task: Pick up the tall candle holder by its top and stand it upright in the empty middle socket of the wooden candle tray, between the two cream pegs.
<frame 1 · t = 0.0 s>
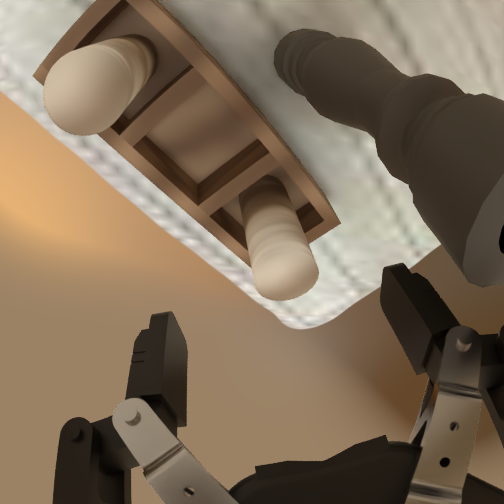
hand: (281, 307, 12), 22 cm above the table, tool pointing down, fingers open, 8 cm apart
candle holder: (306, 59, 26), on the table
wooden candle tray: (201, 127, 29), on the table
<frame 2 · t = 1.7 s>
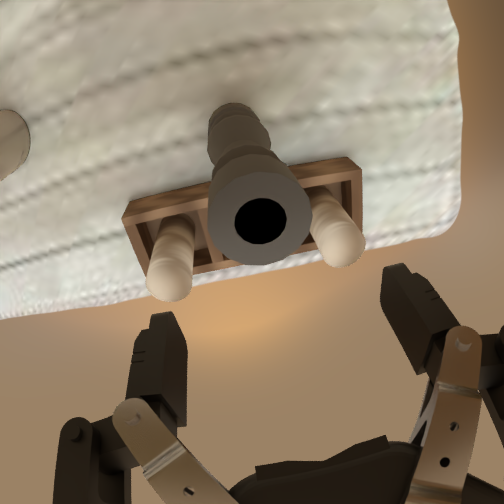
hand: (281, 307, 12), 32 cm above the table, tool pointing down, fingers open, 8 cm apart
candle holder: (233, 126, 38), on the table
wooden candle tray: (245, 210, 45), on the table
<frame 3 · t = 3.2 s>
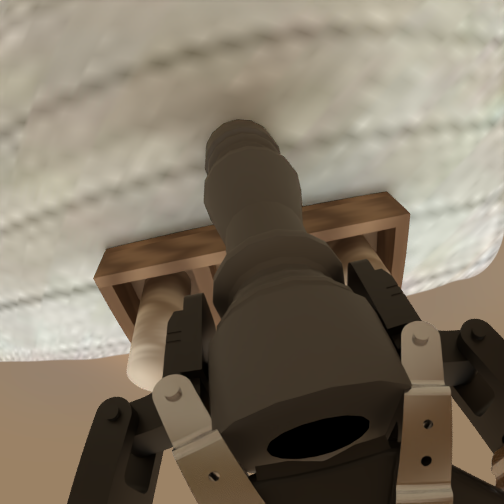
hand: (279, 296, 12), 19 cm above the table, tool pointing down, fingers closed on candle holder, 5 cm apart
candle holder: (240, 152, 28), on the table, touching gripper
wooden candle tray: (254, 260, 35), on the table
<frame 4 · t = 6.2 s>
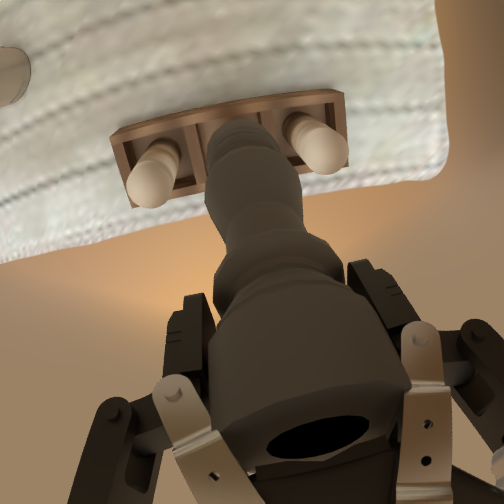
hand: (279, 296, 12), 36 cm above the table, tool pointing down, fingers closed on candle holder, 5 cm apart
candle holder: (241, 151, 28), point 16 cm above the table, touching gripper
wooden candle tray: (230, 138, 43), on the table
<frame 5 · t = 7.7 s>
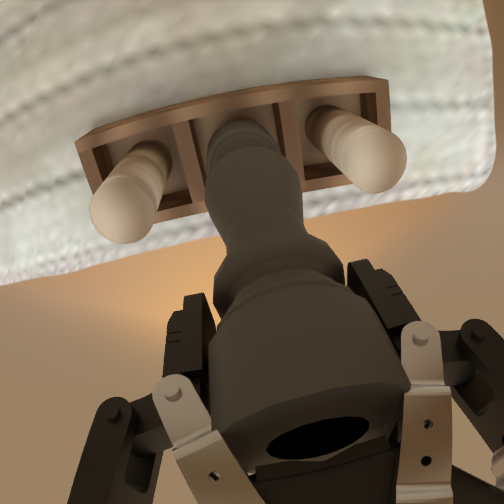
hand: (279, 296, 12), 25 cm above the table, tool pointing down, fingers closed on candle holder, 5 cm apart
candle holder: (241, 152, 28), point 5 cm above the table, touching gripper
wooden candle tray: (237, 139, 33), on the table
when the fingers open (21 cm above the table, at t = 9.0 s): candle holder stays where it is, resting on wooden candle tray.
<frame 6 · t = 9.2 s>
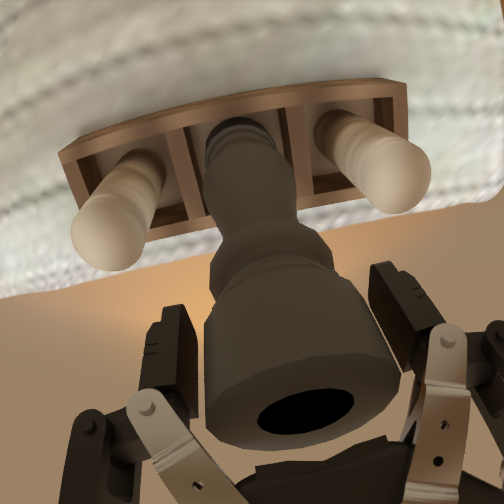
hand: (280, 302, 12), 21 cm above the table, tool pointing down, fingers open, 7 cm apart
candle holder: (238, 148, 29), point 1 cm above the table, touching wooden candle tray
wooden candle tray: (238, 147, 30), on the table
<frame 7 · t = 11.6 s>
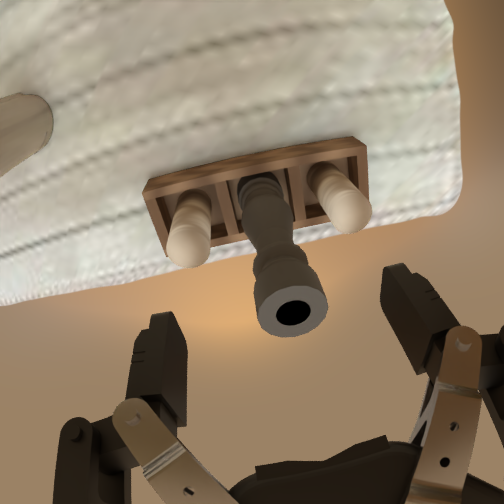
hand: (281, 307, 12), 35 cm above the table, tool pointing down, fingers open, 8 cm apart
candle holder: (258, 188, 46), point 1 cm above the table, touching wooden candle tray
wooden candle tray: (258, 187, 47), on the table
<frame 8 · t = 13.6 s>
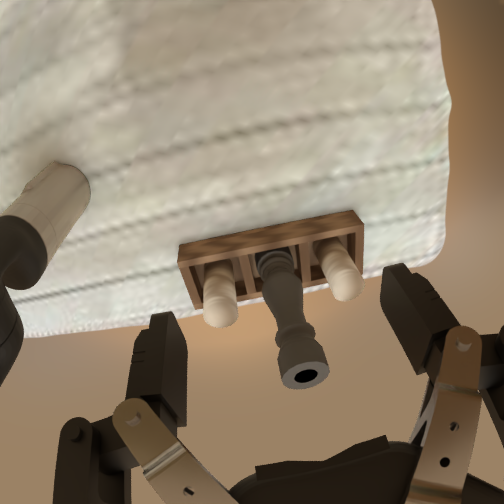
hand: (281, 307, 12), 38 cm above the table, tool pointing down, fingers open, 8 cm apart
candle holder: (272, 254, 56), point 1 cm above the table, touching wooden candle tray
wooden candle tray: (271, 252, 57), on the table
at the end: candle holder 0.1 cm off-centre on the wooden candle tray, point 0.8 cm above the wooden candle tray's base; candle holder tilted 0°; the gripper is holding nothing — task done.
